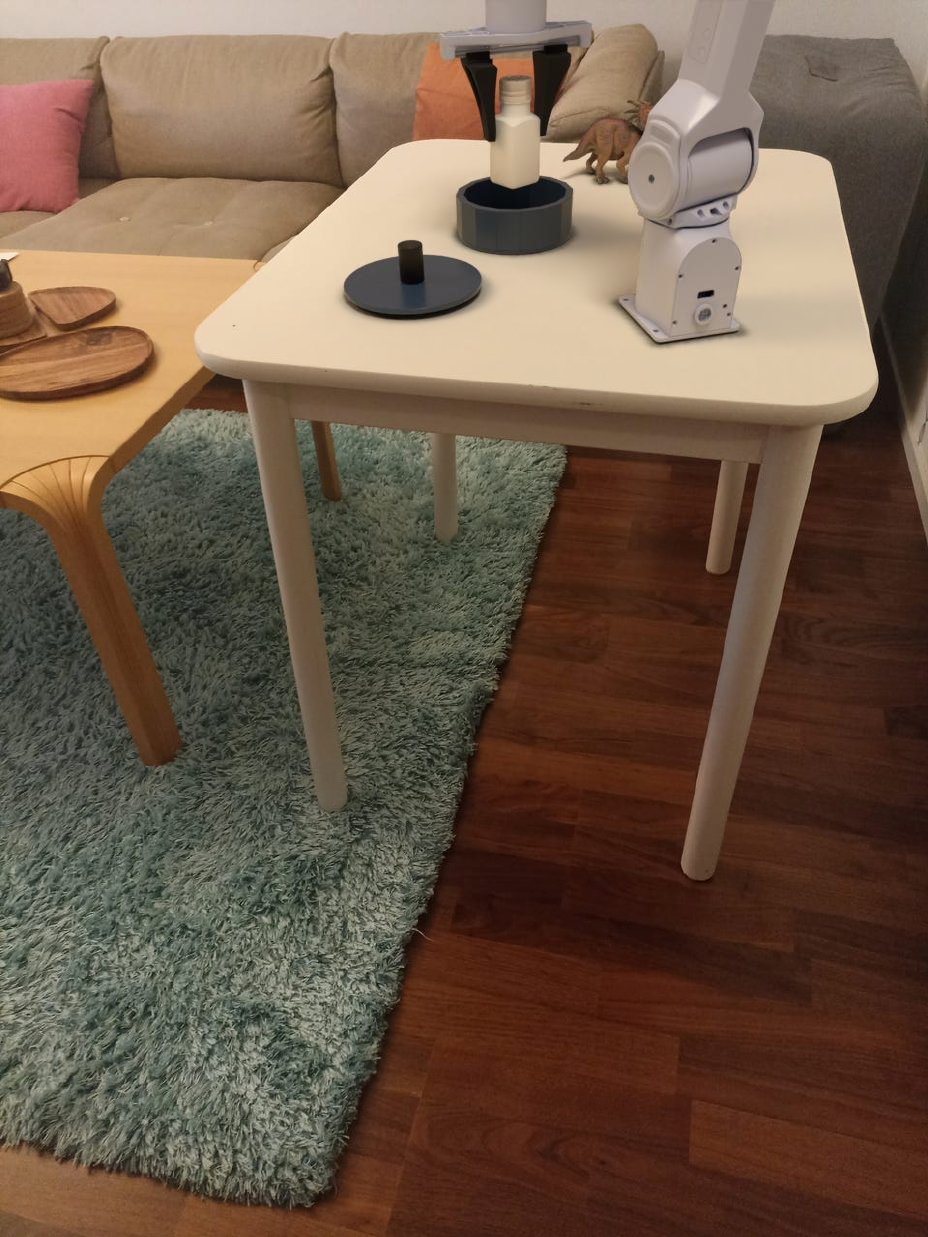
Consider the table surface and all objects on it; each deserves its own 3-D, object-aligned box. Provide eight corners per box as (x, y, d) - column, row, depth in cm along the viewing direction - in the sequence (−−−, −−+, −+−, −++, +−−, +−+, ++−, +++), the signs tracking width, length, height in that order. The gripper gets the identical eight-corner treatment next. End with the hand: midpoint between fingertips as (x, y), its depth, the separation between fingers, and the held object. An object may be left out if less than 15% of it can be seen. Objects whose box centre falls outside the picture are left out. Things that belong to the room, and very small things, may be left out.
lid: (497, 309, 82) (497, 260, 78) (356, 329, 80) (349, 279, 76) (463, 257, 91) (461, 212, 88) (336, 274, 89) (330, 228, 86)
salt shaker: (516, 174, 92) (517, 71, 86) (541, 182, 90) (544, 77, 83) (488, 182, 90) (486, 78, 84) (512, 191, 88) (513, 84, 82)
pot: (586, 246, 93) (589, 202, 90) (474, 260, 91) (473, 217, 88) (550, 209, 102) (551, 168, 99) (447, 221, 100) (445, 181, 97)
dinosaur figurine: (669, 169, 111) (679, 87, 104) (671, 184, 107) (682, 99, 100) (563, 169, 112) (567, 88, 106) (561, 183, 108) (564, 100, 102)
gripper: (576, -41, 82) (569, 119, 91) (429, -30, 79) (437, 133, 89) (603, -33, 77) (593, 136, 86) (446, -20, 74) (453, 152, 84)
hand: (515, 136), depth 87 cm, fingers closed on salt shaker, 5 cm apart
